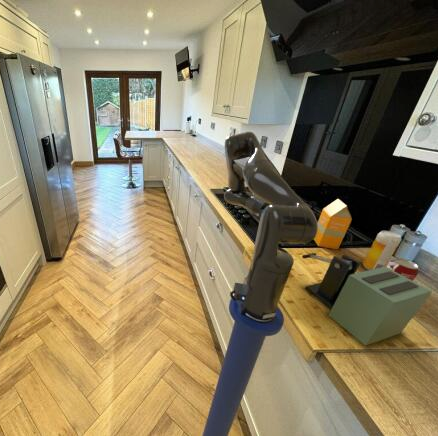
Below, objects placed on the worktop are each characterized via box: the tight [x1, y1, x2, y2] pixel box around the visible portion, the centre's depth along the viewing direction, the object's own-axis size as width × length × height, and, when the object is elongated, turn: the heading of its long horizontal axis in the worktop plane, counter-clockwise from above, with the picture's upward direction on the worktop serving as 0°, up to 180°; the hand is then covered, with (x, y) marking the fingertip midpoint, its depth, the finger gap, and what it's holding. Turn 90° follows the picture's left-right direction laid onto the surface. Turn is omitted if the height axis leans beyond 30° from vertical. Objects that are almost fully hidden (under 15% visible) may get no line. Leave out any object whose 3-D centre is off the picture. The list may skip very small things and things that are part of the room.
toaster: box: [328, 267, 433, 347], centre depth 63 cm, size 10×14×15 cm
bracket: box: [305, 253, 362, 310], centre depth 72 cm, size 10×8×15 cm
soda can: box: [386, 257, 420, 281], centre depth 76 cm, size 7×7×12 cm
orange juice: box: [313, 198, 353, 250], centre depth 102 cm, size 8×9×20 cm
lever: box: [301, 252, 352, 270], centre depth 74 cm, size 13×5×2 cm, turn 17°
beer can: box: [362, 230, 402, 271], centre depth 87 cm, size 6×6×15 cm
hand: (290, 223), depth 86 cm, fingers open, 8 cm apart
